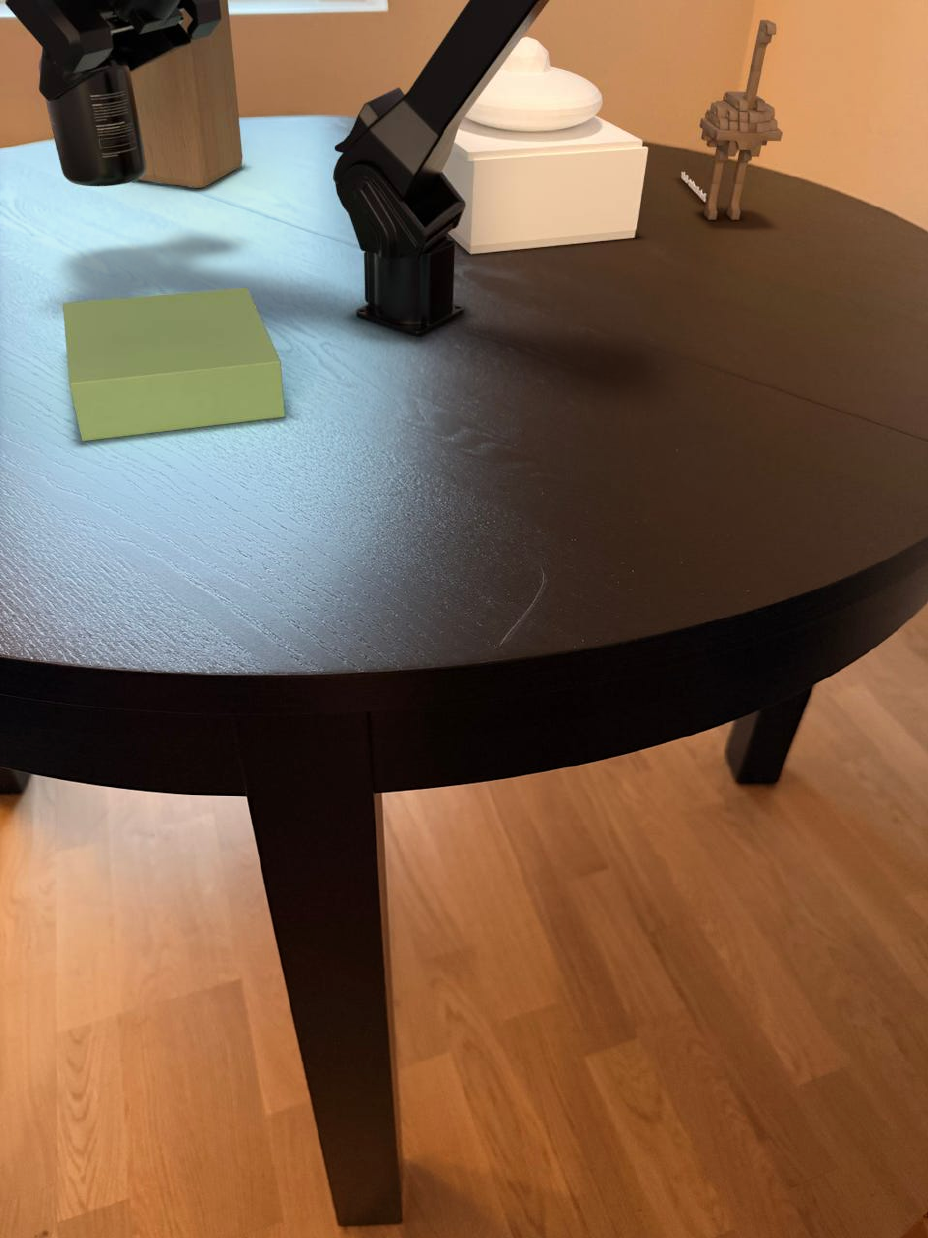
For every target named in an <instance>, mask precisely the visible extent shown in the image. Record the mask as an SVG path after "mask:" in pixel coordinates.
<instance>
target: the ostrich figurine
mask: <svg viewBox="0 0 928 1238" xmlns="http://www.w3.org/2000/svg"><path fill="white" fill-rule="evenodd" d="M776 35H777V24H776V23H775V22H773V21H771V20H769V19H760V20H759V23H758V28H757V34H756V39H755V43H754V48H753V52H752V53H753V54H752V59H751V64H750V70H749V73H748V79H747V84H746V89H745V91H732V90H731V91H726V92H724V95H723V97H722V100H716V102H710V109H707V110H706V111H705V113H704V117H701V118H700V121H699V128H700V129H702V131H701V137H700V139H701V140H702V141H703V142H706V146H707V147H708V148H715V153H714V158H713V163H712V169H711V174H710V179H709V185H708V190H707V193H706V192H704V193H703V189H700V186H697V185H696V183H695V181H694V180H693V181H692V179H691V178H689V175H687V174H686V171H681V174H680V175H681V177H680V178H681V179H682V181H684V182H685V183H686V184H687V185H688V187H690V188H691V190H693V192H694V193H695V194H696V195H697V196H698V197H699V198H700V200H702V201H703V202H704V203H705V206H704V211H703V215H704V217H706V219H707V220H709V221H711V220H712V221H713V220H717V216H718V210H717V202H718V201H717V200H718V195H719V191H720V186H721V180H722V176H723V171H724V166H725V163H726V161H728V160H729V157H730V158H732V157H733V158H734V157H736V155H737V153H738V155H737V160H736V165H735V170H734V174H733V180H732V185H731V191H730V196H729V200H728V203H727V204H728V205H727V210H726V216H727V217H729V219H731V220H732V221H733V220H740V216H741V213H742V212H741V209H740V201H741V196H742V191H743V187H744V181H745V178H746V173H747V167H748V163H749V162H751V161H752V159H753V158H760V155H761V148H762V147H763V146H764V147H765V146H767V145H768V142H782V138H783V133H784V132H783V131H782V130H781V129H780V128H779V125H778V123H779V122H778V120H777V119H776V118H775V116H776V109H775V107H773V106H772V105H771V104H769V103H767V102H766V101H765V100H764V99H763V98H761V97H759V96H758V90H759V85H760V81H761V75H762V70H763V64H764V60H765V54H766V50H767V47H768V45H769V44H771V43H772V38H773V36H776Z"/></svg>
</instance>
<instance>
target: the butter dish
mask: <svg viewBox="0 0 928 1238" xmlns="http://www.w3.org/2000/svg"><path fill="white" fill-rule="evenodd" d="M603 101H604V100H603V95H602V93H601V91H600V90H599V89H598V87H597V86H596V85H595V84H594V83H592V82H591V81H590V80H589V79H587V78H585V77H583V76H582V75H581V76H580V75H579V74H577V73H574V72H572V71H569V70H565V69H563V68H559V67H555V66H551V61H550V53H549V50H547V49H546V47H544V45H542V43H541V42H540V41H539V40H538V39H535V38H532V37H530V36H523V37H522V39H521V40H520V41H519V43H518V44H517V45H516V47H515V48H514V50H513V51H512V52H511V54H510V55H509V56H508V58H507V59H506V61H505V62H504V63H503V65H502V66H501V67H500V69H499V70H498V71H497V73H496V74H495V76H494V77H493V78H492V80H491V81H490V82H489V84H488V85H487V86H486V88H485V89H484V91H483V92H482V93H481V95H480V96H479V97H478V99H477V100H476V102H475V103H474V104H473V106H472V107H471V108H470V110H469V111H468V112H467V114H466V115H465V117H464V118H463V119H462V121H461V123H460V125H459V128H458V131H457V134H456V137H455V141H454V144H453V147H452V150H451V154H450V156H449V158H448V160H447V162H446V164H445V166H444V168H443V170H442V172H443V174H444V175H445V176H446V178H447V179H448V180H449V181H450V183H451V184H452V185H453V187H454V188H455V189H456V191H457V192H458V193H459V194H460V196H461V197H462V198H463V200H464V201H465V203H466V207H465V209H464V212H463V215H462V217H461V220H460V222H459V225H458V226H457V227H456V228H455V229H452V230H451V231H449V232H448V233H447V234H448V235H449V236H450V237H451V238H452V239H453V241H455V242H457V244H458V245H460V246H461V247H462V248H463V249H465V251H466V252H467V253H469V254H470V255H476V254H486V253H495V252H506V251H507V252H508V251H516V250H524V249H525V250H527V249H535V248H546V247H555V246H565V245H573V244H574V245H577V244H584V243H585V244H586V243H595V242H596V243H597V242H602V241H603V242H604V241H605V242H606V241H615V240H625V239H633V238H635V237H636V232H637V227H638V220H639V214H640V207H641V200H642V194H643V187H644V180H645V173H646V166H647V161H648V153H649V147H647V146H643V142H644V140H643V139H641V138H639V137H637V136H636V135H633V134H631V133H629V132H627V131H625V130H624V129H622V128H620V127H618V126H617V125H614V124H612V123H610V122H608V121H606V120H605V119H603V118H601V117H599V116H597V114H598V113H599V112H600V111H601V110H602V107H603V103H604V102H603Z"/></svg>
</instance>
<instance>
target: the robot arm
mask: <svg viewBox="0 0 928 1238" xmlns="http://www.w3.org/2000/svg"><path fill="white" fill-rule="evenodd" d="M549 2H550V0H468V1H467V3H466V4H465V6H464V7H463V10H461V12H460V14H459V15H458V16H457V18H456V20H455V21H454V22H453V24H452V25H451V27H450V28H449V30H448V31H447V33H446V35H445V36H443V39H442V40H441V42H440V43H439V45H438V46H437V48H436V49H435V51H434V52H433V54H432V55H431V57H430V58H429V59H428V61H427V62H426V64H425V66H424V67H423V68H422V70H421V72H420V73H419V74H418V75H417V77H416V79H415V81H414V82H413V83H412V85H411V86H410V88H409V90H408V91H407V92H406V93H404V92H403V90H402V89H401V88H400V86H397V87H396V88H393V89H391V90H390V91H387V92H386V93H385V92H384V93H383V94H381V95H379V96H377V97H375V98H373V99H371V100H369V101H367V102H365V103H364V104H363V105H362V107H361V109H360V111H359V112H358V113H357V117H356V119H355V122H354V123H353V126H352V129H351V130H350V132H349V134H348V135H347V136H346V137H345V138H344V139H343V141H341V142H339V143H338V144H336V145H335V146H334V151H335V152H337V153H341V155H340V156H339V157H338V159H337V160H336V163H335V165H334V168H333V174H332V180H333V182H334V185H335V190H336V191H335V192H336V195H337V197H338V200H339V201H340V203H341V206H342V207H343V208H344V210H345V211H346V212H347V214H348V216H349V220H350V222H351V225H352V228H353V231H354V234H355V238H356V240H357V243H358V246H359V249H360V250H361V251H362V252H363V270H364V271H363V273H364V274H363V275H364V277H363V278H364V301H365V303H367V304H366V305H363V306H362V307H360V308H358V309H356V310H355V316H356V318H358V319H360V320H363V321H367V322H370V323H372V324H376V325H379V326H382V327H385V328H387V329H391V330H394V331H397V332H399V333H403V334H405V335H407V336H408V335H409V336H413V337H415V338H419V337H420V338H421V337H424V336H425V335H427V334H429V333H430V332H433V331H434V330H436V329H438V328H439V327H441V326H444V325H445V324H447V323H449V322H451V321H452V320H455V319H456V318H458V317H460V316H462V315H463V314H465V313H464V312H465V307H464V306H463V305H459V304H456V303H454V288H455V287H454V284H455V257H456V256H455V253H456V241H455V240H450V239H448V237H447V234H448V232H449V231H451V230H452V229H455V228H456V227H457V226H458V225H459V222H460V220H461V217H462V215H463V212H464V209H465V207H466V203H465V201H464V200H463V198H462V197H461V196H460V194H459V193H458V192H457V191H456V189H455V188H454V187H453V185H452V184H451V183H450V181H449V180H448V179H447V178H446V176H445V175H444V174H443V172H442V170H443V168H444V166H445V164H446V162H447V160H448V158H449V156H450V154H451V150H452V147H453V144H454V141H455V137H456V134H457V131H458V128H459V125H460V123H461V121H462V119H463V118H464V117H465V115H466V114H467V112H468V111H469V110H470V108H471V107H472V106H473V104H474V103H475V102H476V100H477V99H478V97H479V96H480V95H481V93H482V92H483V91H484V89H485V88H486V86H487V85H488V84H489V82H490V81H491V80H492V78H493V77H494V76H495V74H496V73H497V71H498V70H499V69H500V67H501V66H502V65H503V63H504V62H505V61H506V59H507V58H508V56H509V55H510V54H511V52H512V51H513V50H514V48H515V47H516V45H517V44H518V43H519V41H520V40H521V39H522V38H524V37H525V34H527V32H528V31H529V30H530V28H531V26H532V25H533V24H534V22H535V21H536V19H537V18H538V17H539V16H540V14H542V11H543V10H544V9H545V7H546V6H547V5H548V3H549ZM4 3H5V4H4V5H6V7H7V8H8V9H9V10H10V11H11V12H12V14H13V15H14V16H15V17H16V18H17V20H18V21H19V22H20V23H21V24H22V25H23V26H24V27H25V29H26V30H27V31H28V32H29V33H30V34H31V36H32V37H33V38H34V39H35V40H36V42H37V43H38V44H39V45H40V46H41V48H42V49H41V56H42V59H41V70H40V73H39V82H38V91H39V93H40V94H41V95H42V96H43V98H46V100H48V101H52V100H54V99H56V98H58V97H60V96H61V95H63V94H65V93H67V92H68V91H70V90H72V89H73V88H75V87H77V86H78V85H80V84H82V83H83V82H85V81H86V80H88V79H90V78H91V77H93V76H95V75H97V74H98V73H100V72H102V71H103V70H105V69H107V68H108V67H109V66H110V65H109V64H108V63H107V62H106V60H105V59H106V58H107V57H108V56H109V54H110V52H111V51H112V49H113V47H114V48H116V49H117V50H119V51H120V52H121V53H122V54H123V55H124V56H125V58H126V59H127V61H128V64H129V69H130V73H131V72H133V71H135V70H137V69H139V68H141V67H143V66H144V65H147V64H149V63H151V62H153V61H155V60H157V59H159V58H161V57H163V56H165V55H167V54H169V53H171V52H174V51H176V50H178V49H180V48H182V47H184V46H187V45H189V44H190V43H191V39H192V40H195V39H199V38H203V37H206V36H210V34H211V33H212V32H213V30H214V29H215V27H216V26H217V24H218V23H219V22H220V20H221V10H220V0H4ZM184 9H185V10H186V12H187V13H188V14H189V15H190V17H191V18H192V19H193V20H192V21H191V23H190V24H189V26H188V27H187V32H186V31H185V30H184V28H183V27H182V26H181V25H180V24H181V23H182V21H183V20H184V18H183V14H182V11H183V10H184ZM46 100H45V101H46Z"/></svg>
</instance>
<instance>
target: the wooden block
mask: <svg viewBox="0 0 928 1238" xmlns="http://www.w3.org/2000/svg"><path fill="white" fill-rule="evenodd" d="M220 10H221V20H220V22H219V23H218V24H217V26H216V27H215V29H214V30H213V32H212V33H211V34H210V36H206V37H203V38H199V39H195V40H192V39H191V43H190V44H189V45H187V46H184V47H182V48H180V49H178V50H176V51H174V52H171V53H169V54H167V55H165V56H163V57H161V58H159V59H157V60H155V61H153V62H151V63H149V64H147V65H144V66H143V67H141V68H139V69H137V70H135V71H133V72H131V73H130V74H131V79H132V85H133V91H134V96H135V102H136V107H137V113H138V119H139V124H140V130H141V136H142V141H143V147H144V153H145V159H146V166H147V169H146V173H145V174H144V176H143V177H141V178H140V179H138V180H137V181H139V180H140V181H146V182H152V183H158V184H165V185H173V186H180V187H186V188H187V187H188V188H194V189H201V188H205V187H207V186H209V185H210V184H212V183H213V182H215V181H217V180H219V179H221V178H222V177H224V176H226V175H228V174H230V173H231V172H233V171H235V170H237V169H239V168H240V167H241V166H242V163H243V158H244V157H243V149H242V148H243V147H242V137H241V136H242V135H241V125H240V116H239V114H240V113H239V108H238V107H239V106H238V105H239V104H238V95H237V84H236V73H235V62H234V61H235V60H234V52H233V51H234V50H233V41H232V40H233V39H232V31H231V29H232V28H231V19H230V10H229V0H220ZM182 14H183V18H184V20H183V21H182V23H181V24H180V25H181V26H182V27H183V28H184V30H185V31H186V32H187V27H188V26H189V24H190V23H191V21H192V20H193V19H192V18H191V17H190V15H189V14H188V13H187V12H186V10H185V9H184V10H183V11H182Z"/></svg>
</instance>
